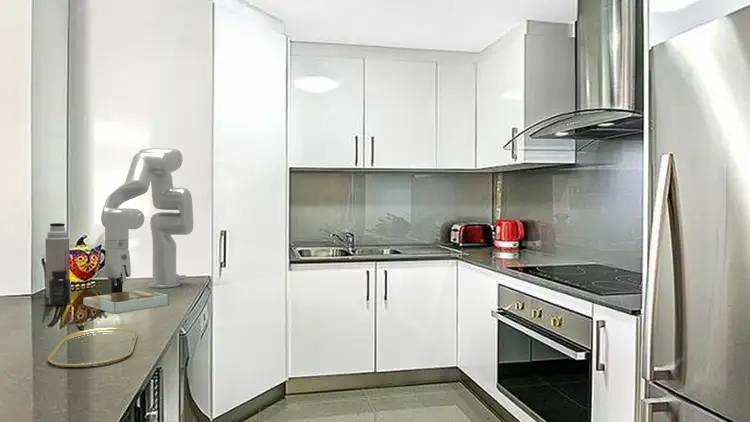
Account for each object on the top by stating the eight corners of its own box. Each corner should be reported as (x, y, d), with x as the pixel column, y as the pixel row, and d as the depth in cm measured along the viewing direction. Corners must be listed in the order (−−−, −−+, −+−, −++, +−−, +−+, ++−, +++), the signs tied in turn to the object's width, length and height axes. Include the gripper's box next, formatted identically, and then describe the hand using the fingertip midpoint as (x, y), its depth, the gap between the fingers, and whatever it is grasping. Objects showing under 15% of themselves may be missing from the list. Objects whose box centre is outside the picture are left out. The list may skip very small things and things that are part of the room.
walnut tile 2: (125, 291, 198) (129, 292, 196) (125, 305, 198) (129, 306, 196) (111, 293, 194) (114, 294, 192) (111, 307, 194) (114, 308, 193)
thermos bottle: (73, 294, 219) (73, 222, 218) (62, 298, 211) (61, 224, 210) (53, 294, 219) (53, 222, 218) (41, 298, 211) (40, 223, 210)
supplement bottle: (74, 302, 204) (74, 269, 203) (62, 306, 197) (62, 272, 196) (57, 302, 204) (57, 269, 204) (44, 305, 198) (44, 271, 197)
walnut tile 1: (157, 297, 200) (157, 304, 200) (150, 296, 203) (150, 302, 203) (144, 299, 196) (144, 307, 196) (136, 298, 199) (136, 304, 199)
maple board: (136, 297, 216) (136, 290, 216) (153, 301, 209) (153, 294, 209) (83, 304, 200) (83, 297, 200) (99, 309, 193) (99, 302, 193)
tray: (154, 301, 208) (154, 291, 208) (168, 304, 203) (168, 295, 202) (100, 309, 193) (100, 299, 193) (114, 313, 187) (114, 303, 187)
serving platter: (139, 331, 166) (139, 326, 166) (129, 366, 133) (129, 360, 133) (68, 335, 160) (68, 330, 160) (39, 374, 127) (39, 367, 127)
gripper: (138, 245, 195) (138, 298, 196) (116, 242, 204) (116, 293, 205) (117, 247, 189) (117, 301, 190) (95, 244, 198) (95, 295, 199)
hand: (116, 296), depth 197 cm, fingers closed
